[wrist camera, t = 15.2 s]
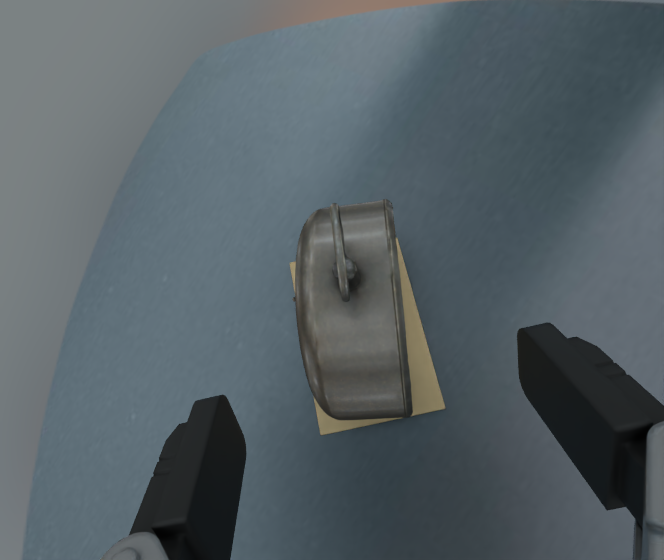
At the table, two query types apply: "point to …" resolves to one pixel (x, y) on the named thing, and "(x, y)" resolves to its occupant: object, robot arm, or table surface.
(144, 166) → the table surface
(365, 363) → the alarm clock
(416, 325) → the mat
